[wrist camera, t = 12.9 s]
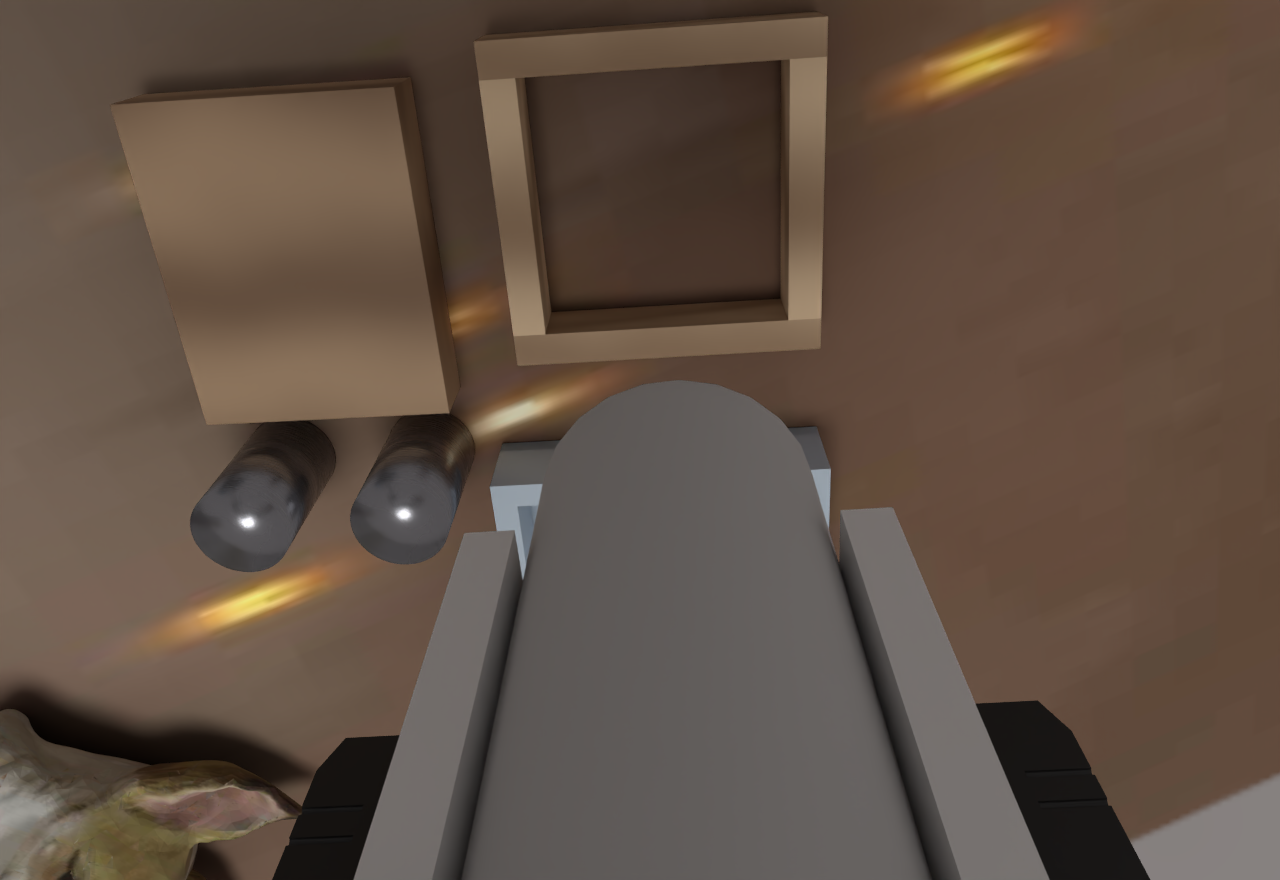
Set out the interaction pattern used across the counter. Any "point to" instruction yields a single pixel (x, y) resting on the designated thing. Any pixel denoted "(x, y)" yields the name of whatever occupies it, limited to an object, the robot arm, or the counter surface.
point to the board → (296, 248)
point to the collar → (651, 48)
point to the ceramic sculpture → (118, 810)
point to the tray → (529, 461)
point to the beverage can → (687, 667)
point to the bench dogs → (298, 472)
